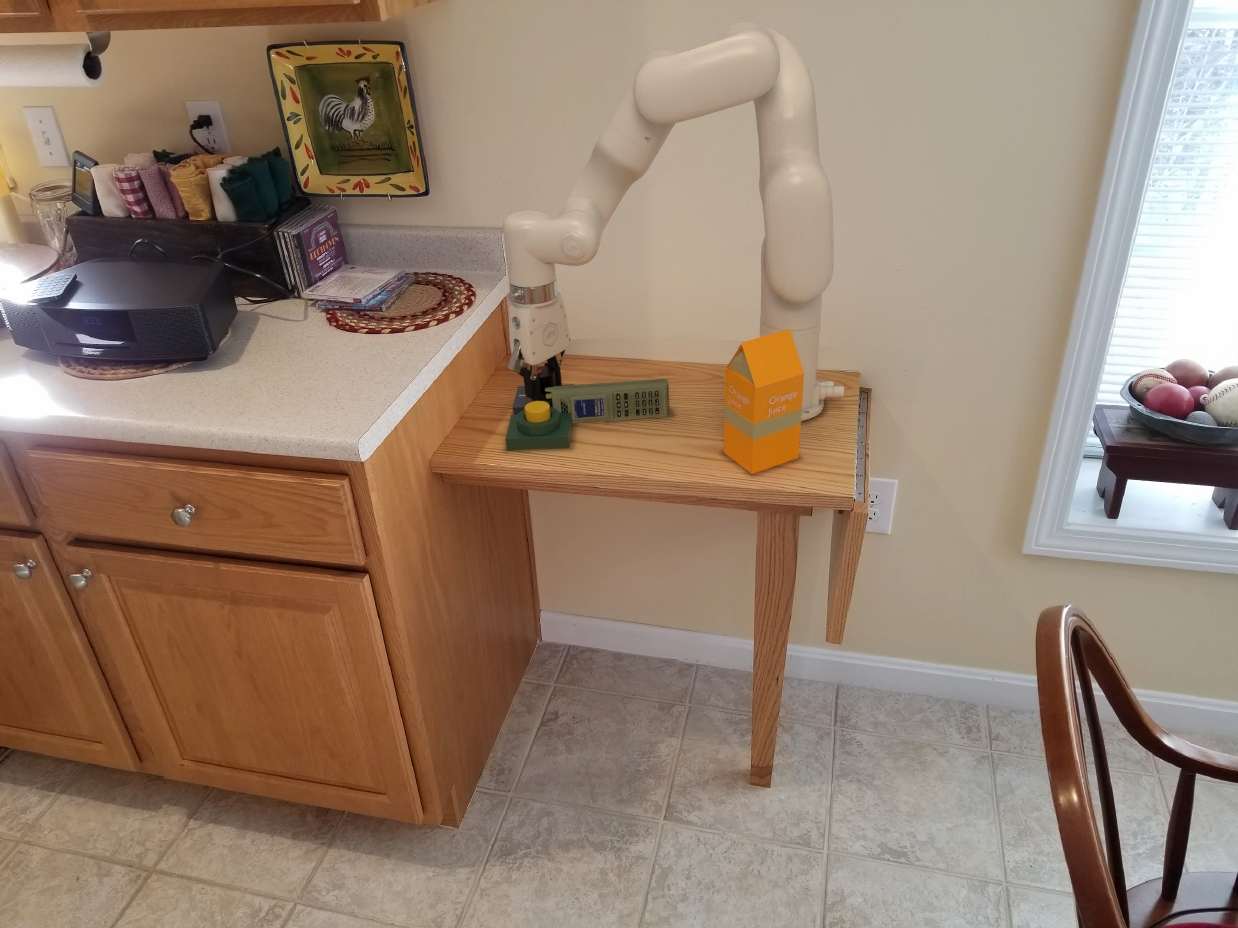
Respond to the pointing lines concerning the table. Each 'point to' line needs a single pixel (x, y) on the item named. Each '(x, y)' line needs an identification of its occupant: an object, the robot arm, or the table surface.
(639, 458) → the table surface
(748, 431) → the orange juice
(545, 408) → the yellow push button
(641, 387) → the handheld radio
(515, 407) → the nozzle panel
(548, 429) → the green button base
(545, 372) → the knob
